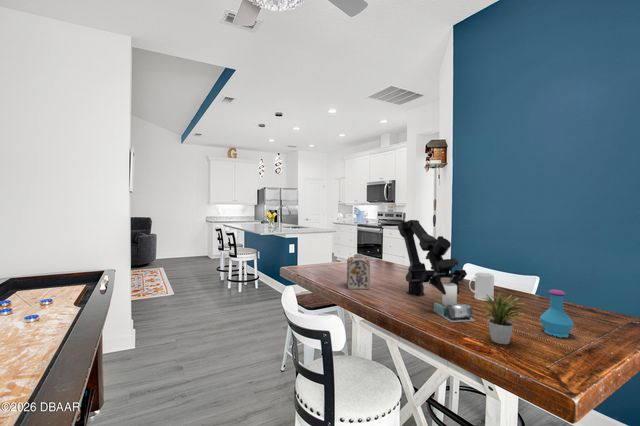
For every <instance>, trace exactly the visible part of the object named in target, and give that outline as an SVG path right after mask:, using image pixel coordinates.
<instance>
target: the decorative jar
mask: <svg viewBox="0 0 640 426" xmlns="http://www.w3.org/2000/svg"><path fill="white" fill-rule="evenodd" d="M346 260H347V261H346V285H347V288H348V290H370V288H371V262H370V259H369V258H368V257H366V256H363V253H354V254H353V256H350V257H347V259H346Z"/></svg>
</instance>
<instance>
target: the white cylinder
mask: <svg viewBox="0 0 640 426" xmlns="http://www.w3.org/2000/svg"><path fill="white" fill-rule="evenodd" d="M442 285H443V287H444V289H445V292H446V294H445V295H444V294H443V293H442V292H441V293H442V298H441V300H442V301H441V303H442V304H441V305H442V306H444V307H445V308H446V307H447V305H457V303H458V301H457V300H458V294H457V285H456V284H454V283H450V281H446V282H444V283H443V282H442Z"/></svg>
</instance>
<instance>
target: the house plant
mask: <svg viewBox="0 0 640 426" xmlns="http://www.w3.org/2000/svg"><path fill="white" fill-rule="evenodd" d="M486 295H487V294H486ZM489 296H490V295H489ZM489 296H488V295H487V297H488V298H489V299H488V298H487V297H486V298H487V300H488V301H485V302H486V303H487V304H488V305H489V306H488V305H484V304H483V305H481V307H482V308H484V309H485V310H486V309H487V311H486V312H485V317H488V316H489V317H490V316H492V317H490V318H488V320H487V322H488V327H489V335H490V340H491V341H492V342H494V343H496V344H499V345H509V344H510V343H511V341H510V340H511V337H512V332H513V328H514V322H515V318H516V317H520V318H523V315H525V313H523V312H521V313H520V312H518V311H514V310H522V309H523V310H524V309H525V310H529V308H527V307H524V305H522V304H521V302H518V303H517V302H516V301H517V300H519V299H520V297H517V298H514V299H512V300H511V301H509V300H510V298H511V297H512V296H513V293H512V294H510V295H509V296H508V297H507V298H506V299H504V301H503V297H502V293H501V290H498V294H497V298H495V297H493V298H494V301H495V302H494V301H493V300H492V299H491V298H490V297H489ZM483 299H485V298H483ZM515 302H516V303H515ZM519 305H520V306H521V307H519ZM512 311H513V312H512ZM510 320H512V321H513V322H512V321H510Z"/></svg>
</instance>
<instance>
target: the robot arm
mask: <svg viewBox="0 0 640 426" xmlns="http://www.w3.org/2000/svg"><path fill="white" fill-rule="evenodd" d="M397 230H398V232H399V235H400V236H401V237H402V238H403V240H404V244H405V248H406V252H407V256H408V260H409V266H408V268H407V269H408V271H407V274H406V275H405V281H406V282H407V283H408V291H407V292H406V294H409V295H413V296H416V297H418V296H422V295H424V294H425V292H424V291H425V290H424V288H425V287H424V284H423V283H426V284H427V283H428V284H429V285H431V286H432V287H434V288H436V289H437V290H439V292H440V293H443V294H444V295H445V294H446V292H445V289H444V287H443V282H442V279H450V281H449V282H450V283H454V284H456V285H457V295H458V294H460V287H459V285H460V284H459V282H462V281H463V280H464V279H465V277H467V275H468V273H467V272H466V270H465V269H455V270H454V271H453V268H456V266H459V260H458V259H457V257H452V258H446V259H444V257H443V256H445V255H446V254H447V252H448V251H449V249H450V247H451V246H452V245H451V241H450V240H448V239H447V238H445V237H444V236H443V235H439V236H437V238H435V236H432V235H430V234H428V232H427V231H426V230H425V228H424V227H423V226H422V225H421V223H420V221H419V220H418V219H409V220H407V221H401V222H399V223H398V225H397ZM414 236H416V237H417V239H418V241H419V244H418V245H419V247H420V249H421V251H423V252H427V253H426V255H425V260H428V261H429V263H430V270H429V269H428V270H427V269H426V264H425V262H423V263H422V262H421V261H420V257H419V254H418V253H419V252H418V249H417V245H416V241H415V237H414ZM451 271H453V272H451Z"/></svg>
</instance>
